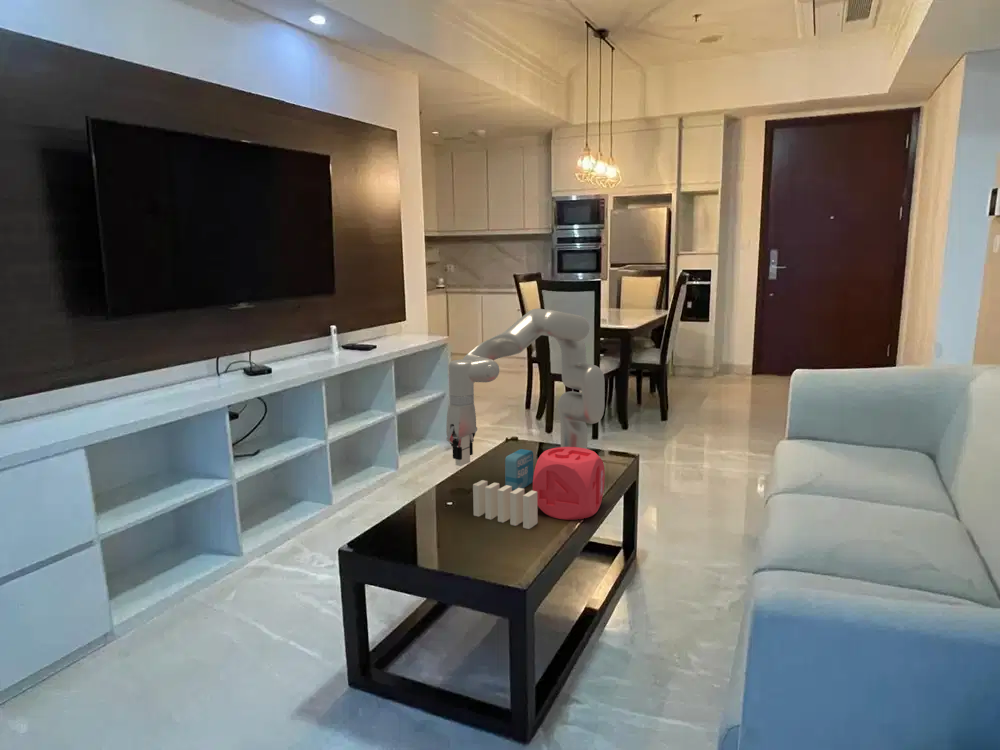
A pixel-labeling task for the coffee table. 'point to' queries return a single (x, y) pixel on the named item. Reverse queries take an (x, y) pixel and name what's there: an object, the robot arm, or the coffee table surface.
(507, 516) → the domino
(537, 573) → the coffee table surface
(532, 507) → the domino
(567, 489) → the red foam number die
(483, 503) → the domino
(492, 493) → the domino
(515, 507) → the domino
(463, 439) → the domino
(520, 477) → the data package
